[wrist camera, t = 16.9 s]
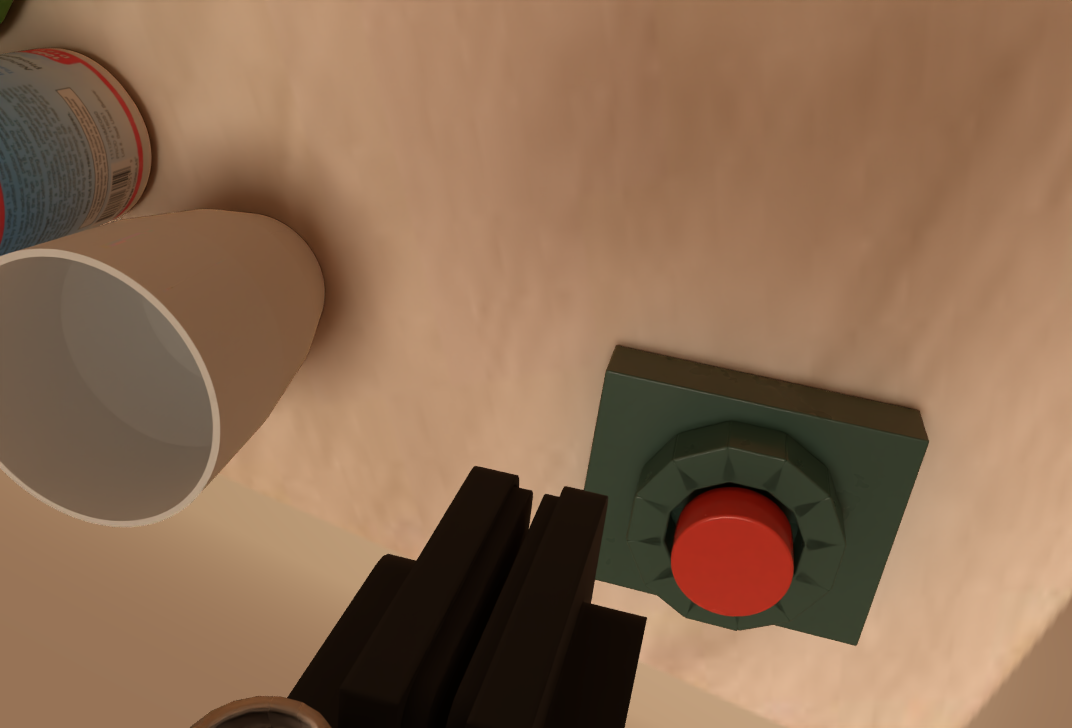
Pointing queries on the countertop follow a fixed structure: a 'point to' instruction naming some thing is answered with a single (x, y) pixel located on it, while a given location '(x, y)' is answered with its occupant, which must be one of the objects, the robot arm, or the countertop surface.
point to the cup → (148, 356)
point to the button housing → (752, 481)
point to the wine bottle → (4, 8)
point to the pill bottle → (65, 147)
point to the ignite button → (733, 552)
